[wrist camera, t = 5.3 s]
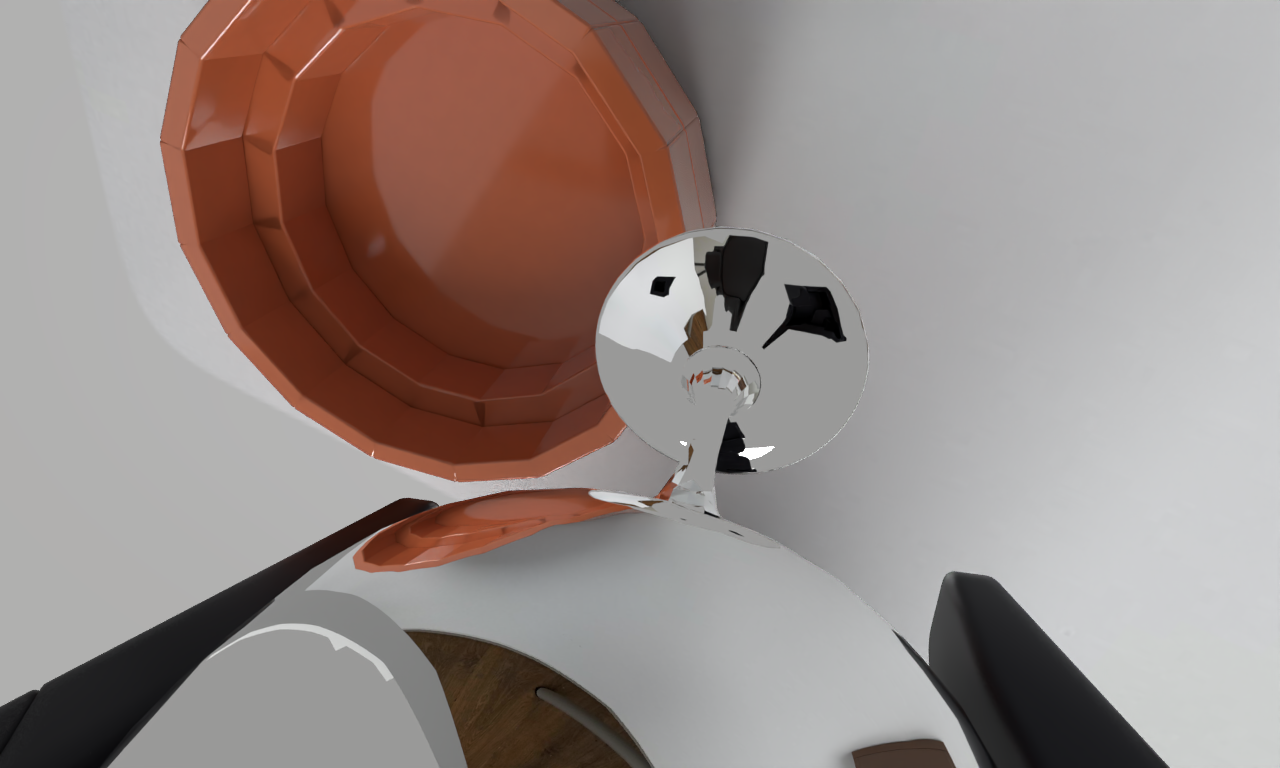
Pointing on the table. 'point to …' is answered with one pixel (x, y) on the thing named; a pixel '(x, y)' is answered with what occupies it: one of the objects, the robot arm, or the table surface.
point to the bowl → (429, 211)
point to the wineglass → (601, 582)
